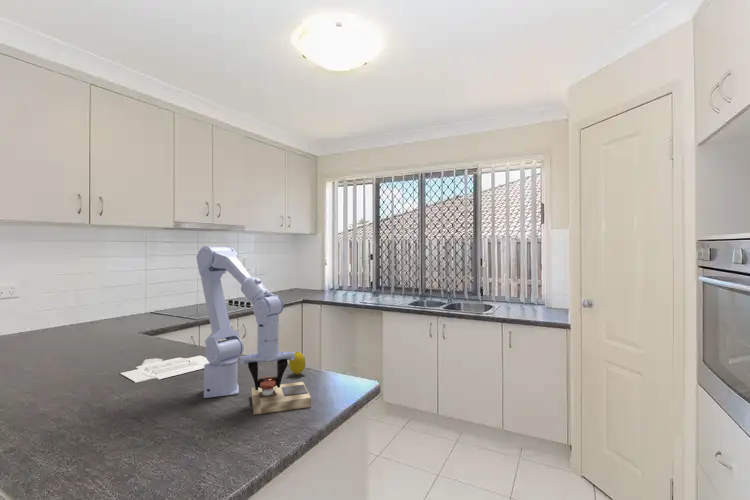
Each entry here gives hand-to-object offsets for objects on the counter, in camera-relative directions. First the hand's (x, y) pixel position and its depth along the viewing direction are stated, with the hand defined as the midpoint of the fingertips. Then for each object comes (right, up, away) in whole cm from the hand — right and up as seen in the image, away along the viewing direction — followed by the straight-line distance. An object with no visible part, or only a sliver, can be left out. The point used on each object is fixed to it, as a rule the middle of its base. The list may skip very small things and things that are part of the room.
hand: (267, 387), depth 104 cm
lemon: (+3, -5, +24) cm, 24 cm away
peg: (0, -4, 0) cm, 4 cm away
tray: (-43, -5, +30) cm, 53 cm away
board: (+3, -4, +1) cm, 6 cm away
